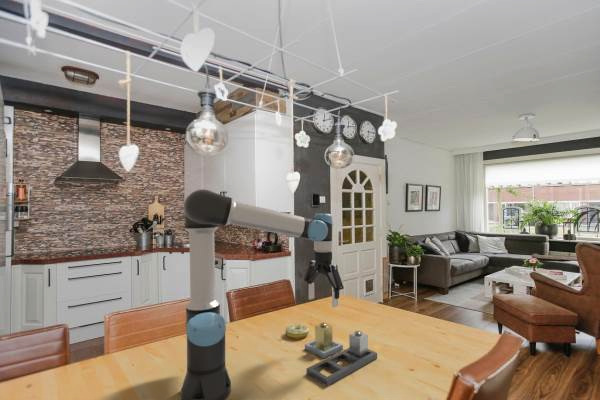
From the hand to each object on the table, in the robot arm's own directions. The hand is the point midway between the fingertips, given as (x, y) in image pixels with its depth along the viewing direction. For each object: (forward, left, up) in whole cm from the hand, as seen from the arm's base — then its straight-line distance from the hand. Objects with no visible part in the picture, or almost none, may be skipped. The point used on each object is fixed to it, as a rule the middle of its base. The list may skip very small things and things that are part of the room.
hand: (322, 302), depth 127 cm
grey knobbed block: (+5, -14, -19) cm, 24 cm away
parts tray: (0, 0, -19) cm, 19 cm away
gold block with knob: (0, 0, -19) cm, 19 cm away
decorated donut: (+2, +18, -20) cm, 27 cm away
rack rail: (-4, -14, -19) cm, 24 cm away
